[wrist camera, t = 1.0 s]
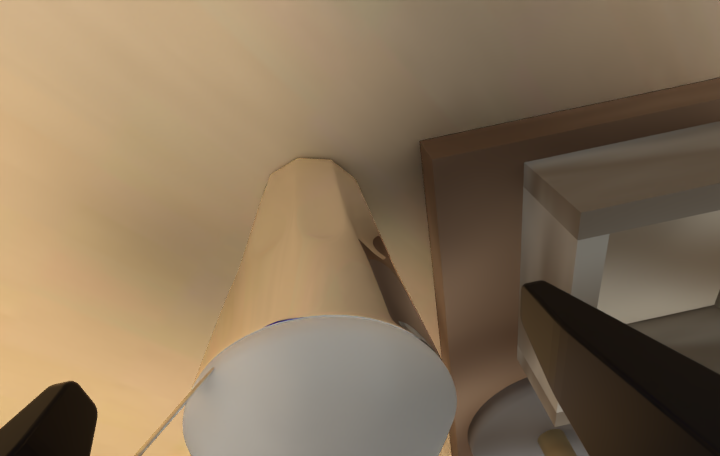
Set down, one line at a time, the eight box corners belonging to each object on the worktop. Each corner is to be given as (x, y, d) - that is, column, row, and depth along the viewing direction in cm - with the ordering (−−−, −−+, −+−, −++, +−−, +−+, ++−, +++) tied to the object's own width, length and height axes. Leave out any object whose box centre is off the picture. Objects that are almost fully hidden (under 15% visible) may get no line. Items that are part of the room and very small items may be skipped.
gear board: (669, 408, 23) (742, 495, 19) (451, 456, 23) (482, 553, 19) (790, 63, 14) (981, 101, 10) (419, 140, 13) (466, 211, 10)
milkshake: (275, 85, 12) (224, 369, 4) (407, 191, 14) (564, 517, 6) (189, 199, 14) (8, 589, 5) (321, 278, 16) (349, 640, 7)
